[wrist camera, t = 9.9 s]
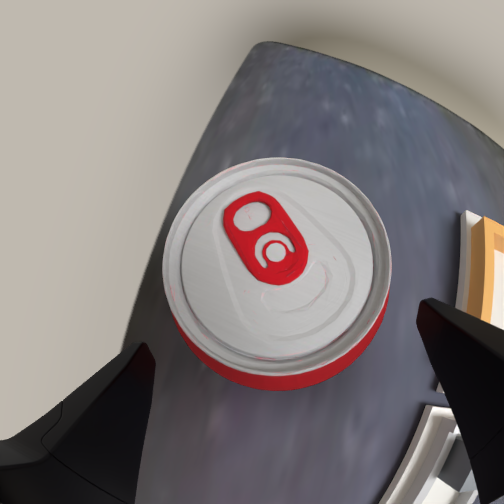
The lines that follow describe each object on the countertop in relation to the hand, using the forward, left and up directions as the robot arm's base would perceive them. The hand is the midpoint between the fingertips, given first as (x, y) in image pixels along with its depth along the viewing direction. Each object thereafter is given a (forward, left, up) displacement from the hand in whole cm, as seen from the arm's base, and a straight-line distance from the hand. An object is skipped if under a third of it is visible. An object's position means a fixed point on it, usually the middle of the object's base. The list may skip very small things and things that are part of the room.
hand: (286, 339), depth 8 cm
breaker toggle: (-5, -15, -8) cm, 18 cm away
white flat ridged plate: (-7, -15, -9) cm, 19 cm away
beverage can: (+2, +1, -9) cm, 9 cm away
